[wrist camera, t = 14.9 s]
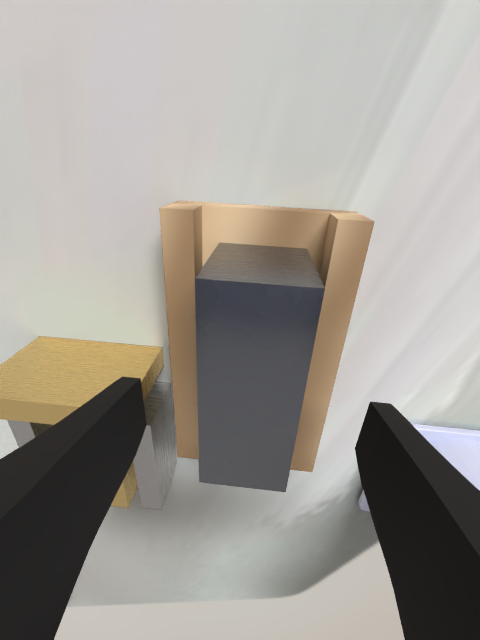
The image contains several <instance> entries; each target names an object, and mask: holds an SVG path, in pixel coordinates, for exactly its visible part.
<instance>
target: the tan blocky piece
mask: <svg viewBox="0 0 480 640" xmlns="http://www.w3.org/2000/svg"><path fill="white" fill-rule="evenodd" d="M162 367H163V353H162V347H151V346H140V345H129V344H118V343H107V342H96V341H85V340H74V339H63V338H52V337H41V336H39V337H38V338H37V339H35V340H34V341H33V342H31V343H30V344H28V345H27V346H26V347H24V348H23V349H22V350H20V351H19V352H17V353H16V354H15V355H13V356H12V357H11V358H9V359H8V360H7V361H5V362H4V363H2V364H1V365H0V419H5V420H14V421H23V422H33V423H42V424H51V425H55V424H56V423H58V422H59V421H61V420H62V419H64V418H65V417H66V416H68V415H69V414H71V413H72V412H73V411H75V410H76V409H78V408H79V407H80V406H82V405H83V404H85V403H86V402H87V401H89V400H90V399H92V398H93V397H94V396H96V395H97V394H98V393H100V392H101V391H103V390H104V389H105V388H107V387H108V386H109V385H111V384H112V383H114V382H115V381H116V380H118V379H119V378H121V377H122V376H123V377H133V378H141V385H142V393H143V400H144V401H145V399H146V397H147V395H148V393H149V392H150V390H151V388H152V386H153V384H154V382H155V380H156V379H157V377H158V375H159V373H160V371H161V369H162ZM137 487H138V485H137V479H136V473H135V468H134V462H132V464H131V466H130V468H129V470H128V472H127V474H126V476H125V478H124V480H123V482H122V484H121V486H120V488H119V490H118V492H117V494H116V496H115V498H114V500H113V502H112V504H111V506H115V507H124V508H129V506H130V503H131V501H132V499H133V496H134V494H135V491H136V489H137Z"/></svg>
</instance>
